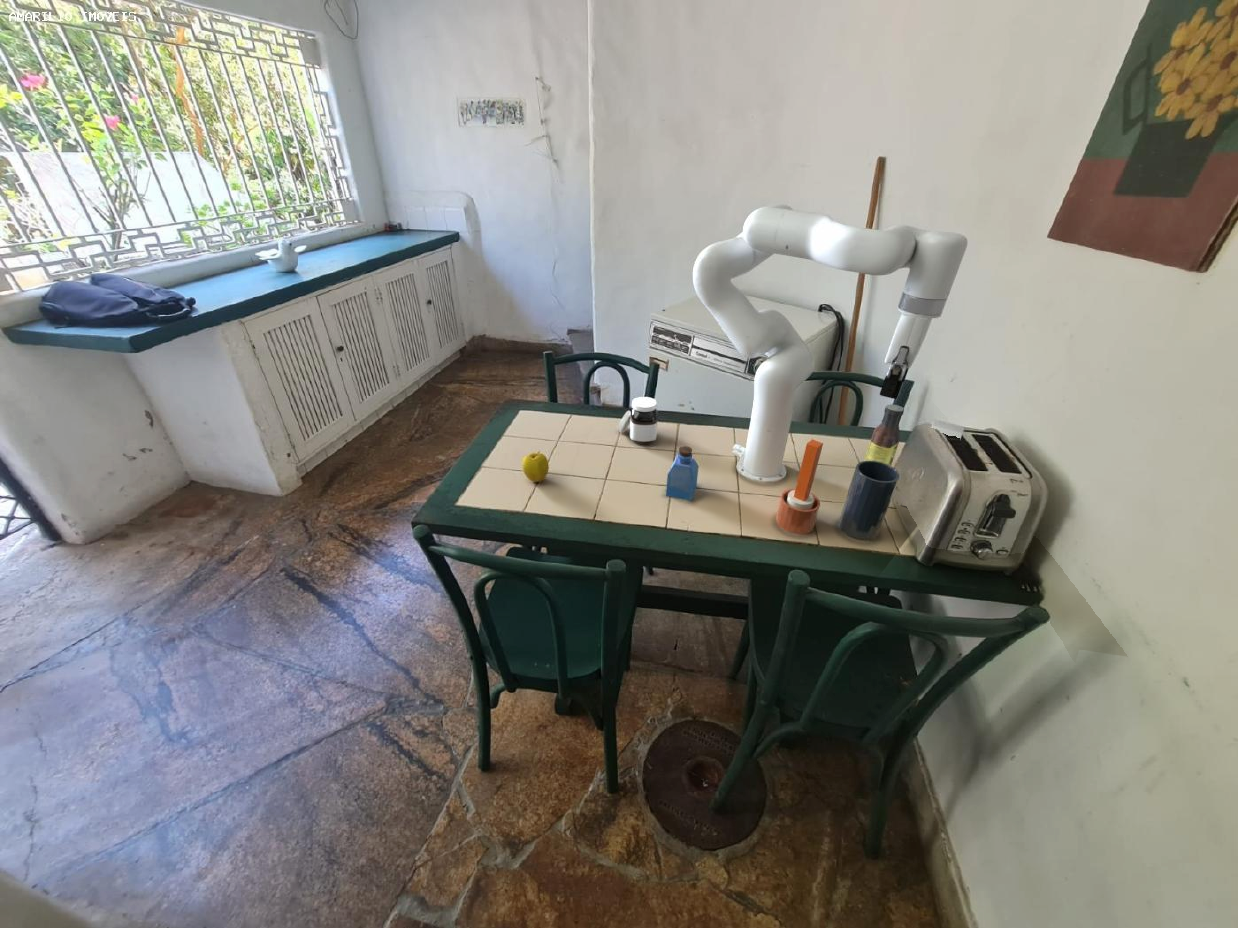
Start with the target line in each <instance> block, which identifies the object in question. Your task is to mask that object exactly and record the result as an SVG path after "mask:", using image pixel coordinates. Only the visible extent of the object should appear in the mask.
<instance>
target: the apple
mask: <svg viewBox="0 0 1238 928" xmlns="http://www.w3.org/2000/svg"><path fill="white" fill-rule="evenodd" d="M521 466H522V467H521V468H522V471H523V474H524V475H525V477H526V478H527V479H528V480H530V481H531V482H532V483H540V482H542V481H543V480H545V479H546V478H547V475H548V472H549V469H550V465H549V460H548V458H547V456H546V455H545V454H543V453H541V450H539V451H538V452H531V453H529V454H527V455H524V457H523V459H522V462H521Z"/></svg>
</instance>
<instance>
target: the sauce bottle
mask: <svg viewBox="0 0 1238 928" xmlns="http://www.w3.org/2000/svg"><path fill="white" fill-rule="evenodd" d="M883 411H884V414H883V417H882V419H881V422H880V423H879V425H877V426H876V427H875V428H874V430H873V432H872V436H871V439H870V440H869V443H868V447H867V451H866V454H865V457H864V460H863V461H877V462H882V463H884V464H887V465H889V466H891V467H892V465H893V463H894V462H893V461H894V459H895V456H896V453H897V449H898V447H899V445H900V444H899V443H900V441H901V437H900V436H901V435H900V434H901V433H900V422H901V419H902V416H904V412H905V408H904V407H902V406H901V405H898V404H892V403H890V404H886V405H885V407H884V410H883Z"/></svg>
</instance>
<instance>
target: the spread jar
mask: <svg viewBox="0 0 1238 928" xmlns="http://www.w3.org/2000/svg"><path fill="white" fill-rule="evenodd" d="M657 406H658V402H657V400H656V399H655V398H652V397H649V396H638V397H635V398H633V399H632V402H631V409H630V410H627V411H626V412H625V413H624V415H623V416H622V417H621V419H620V421H619V423H618V425H617V429H616V431H617V432H619V433H620V434H623V433H624V432H625V431H626V430H627V429H628V427H629V438H630V441H631V442H632V443H635V444H637V445H644V446H645V445H650V444H653V443H655V442H656V440H657V436H658V435H657V433H658V419H659V418H658V417H659V415H658V408H657Z"/></svg>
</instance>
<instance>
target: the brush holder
mask: <svg viewBox="0 0 1238 928" xmlns="http://www.w3.org/2000/svg"><path fill="white" fill-rule="evenodd" d="M795 489H796V488H790V489H787V490H786V489H785V490H784V491H782V493H781V496H780V499H779V503H778V507H777V511H776V515H775V521H776V524H777V525H778V526H779V527H780V528H781V529H782V530H783V531H785V532H788V533H791V534H795V535H805V534H808V533H811V532H812V531H813V530H814V527H815V526H816V525H815V524H816V520H817V517H818V514H819V510H820V508H821V500H820V499H819V498H818V496H817V495H815V494H813V493H812V492H810V494H811V495H812V496H813V497H814V503H813V506H812V510H799V509H796V508H793V507H791V506H789V505H788V504H787V503H786V502H787V498H788V494H789V492H791V491H793V490H795Z"/></svg>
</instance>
